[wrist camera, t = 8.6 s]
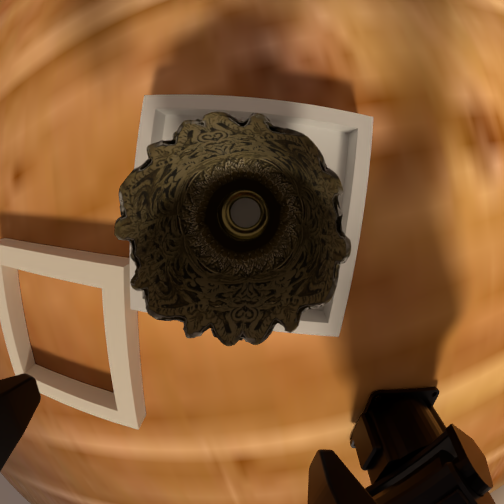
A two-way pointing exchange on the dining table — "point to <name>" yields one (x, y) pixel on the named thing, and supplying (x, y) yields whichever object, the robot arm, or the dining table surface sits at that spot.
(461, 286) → the dining table surface
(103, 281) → the white flat square frame
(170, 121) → the grey tray
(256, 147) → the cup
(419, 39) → the dining table surface
